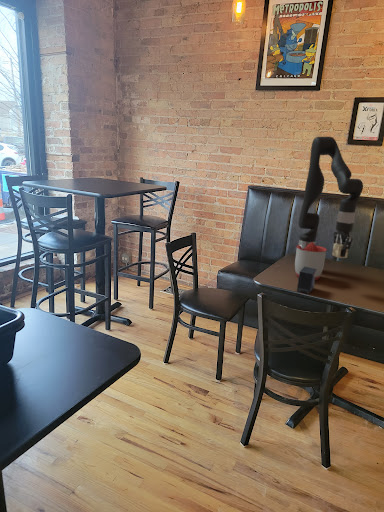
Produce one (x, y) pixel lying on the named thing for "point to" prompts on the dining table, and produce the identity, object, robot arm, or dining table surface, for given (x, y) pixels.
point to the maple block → (338, 250)
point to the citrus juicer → (310, 258)
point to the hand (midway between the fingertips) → (339, 255)
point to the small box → (306, 280)
